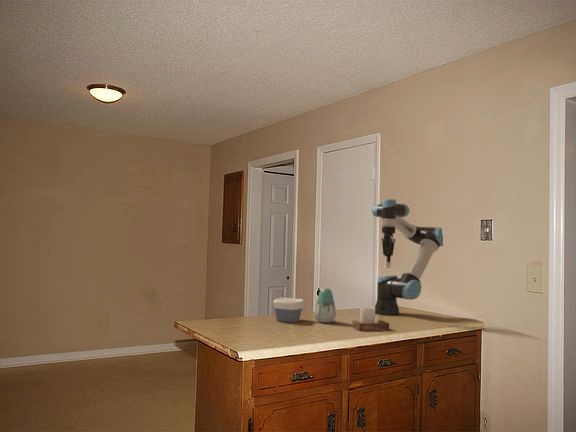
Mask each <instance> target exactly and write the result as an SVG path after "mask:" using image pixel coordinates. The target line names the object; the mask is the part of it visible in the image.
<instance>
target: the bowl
mask: <svg viewBox="0 0 576 432" xmlns="http://www.w3.org/2000/svg"><path fill="white" fill-rule="evenodd" d="M272 303H273V307H274V313H275V318H276V321H277V322H281V323H282V322H283V323H296V322H297V323H298V321H300V319H301V316H302V315H301V314H302V311H303V307H304V303H305V301H304V299H301V298H294V297H293V298H292V297H279V298H276V299H274V300H273V302H272Z"/></svg>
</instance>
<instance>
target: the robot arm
mask: <svg viewBox="0 0 576 432" xmlns="http://www.w3.org/2000/svg"><path fill="white" fill-rule="evenodd" d="M371 212H372V215H373V216H374V217H377V218H381V226H382V227H381V233H382V234H383V237H382V238H381V245H382V255H383V256H384V268H385V269H390V268H391V257H392V256H393V255H394V249H395V243H396V238H394V234H396V230H397V231H399V232H400V233H402V234H403V237H404V238H406V239H407V240H408V241H411V242H412V243H414V244H417V245H420V247H419V249H418V250H417V253H416V254H415V255H414V258H413V260H412V262H411V263H410V265H409V267H408V269H407V270H406V272H403V273H402V274H401V277H398V275H395V274H394V275H380V276H378V277H377V283H376V285H377V288H376V289H377V291H376V292H377V293H376V296H377V298H376V299H377V300H376V302H375V305H374V308H376V309H375V315H376V314H377V315H380V316H381V315H382V316H399V314H400V308H399V305H398V302H397V299H403V300H404V299H405V300H416V299H417V298H418V297H420V296H421V295H420V294H421V293H422V282H421V280H420V279H421V277H422V276H423V274H424V272H425V270H426V268H427V266H428V264H429V262H430V261H431V258H432V257H433V255H434V253H435V252H437V251H438V250H439V249H440V247H444V246H443V236H442V235H443V234H442V229H441V228H442V227H438V226H434V227H432V226H431V227H429V226H417V225H415V224H413V223H410V222H408V221H407V220H405V219H404V218H406V217H408V215H409V214H410V208H409V206H408V205H407V204H404V203H397V200H396V199H393V198H392V199H391V198H387V199H386V198H385V199H383V200H382V203H379V204H375V205H373V206H372V207H371Z"/></svg>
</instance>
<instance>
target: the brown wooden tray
mask: <svg viewBox="0 0 576 432" xmlns="http://www.w3.org/2000/svg"><path fill="white" fill-rule="evenodd" d="M351 327H352V328H353V329H356V330H358V331H359V332H361V331H362V332H364V331H365V332H368V331H371V332H373V331H375V330H377V331H390V323H389V322H388V321H385V320H382V319H377V320H376V322H374V323H361V321H359V320H357V319H352V322H351Z"/></svg>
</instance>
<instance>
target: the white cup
mask: <svg viewBox="0 0 576 432" xmlns="http://www.w3.org/2000/svg"><path fill="white" fill-rule="evenodd" d="M375 309H376V308H375V306H360V308H359V311H360V312H359V316H360V317H359V318H360V321H359V322H361V323H376V322H375V321H376V320H375V319H376V313H375Z"/></svg>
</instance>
